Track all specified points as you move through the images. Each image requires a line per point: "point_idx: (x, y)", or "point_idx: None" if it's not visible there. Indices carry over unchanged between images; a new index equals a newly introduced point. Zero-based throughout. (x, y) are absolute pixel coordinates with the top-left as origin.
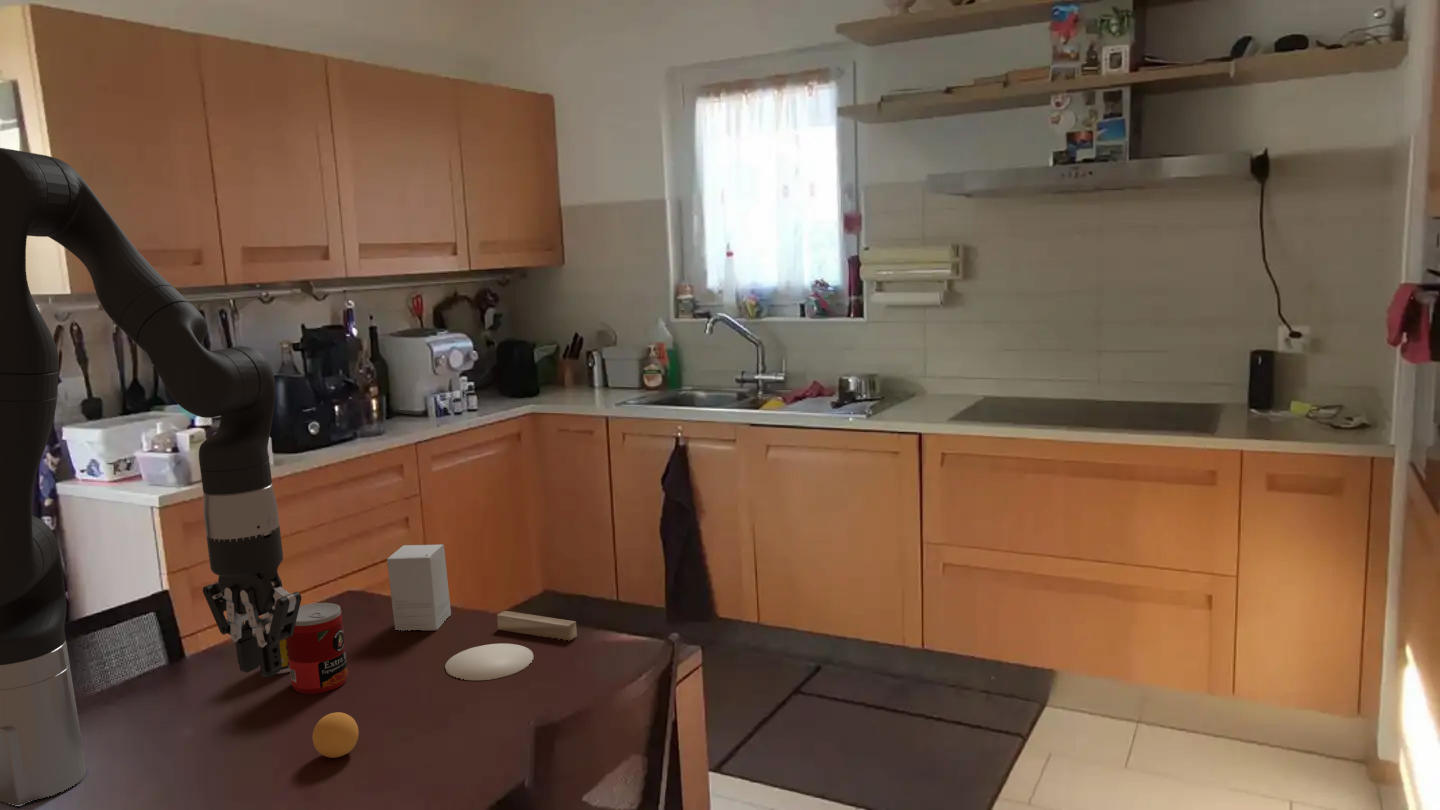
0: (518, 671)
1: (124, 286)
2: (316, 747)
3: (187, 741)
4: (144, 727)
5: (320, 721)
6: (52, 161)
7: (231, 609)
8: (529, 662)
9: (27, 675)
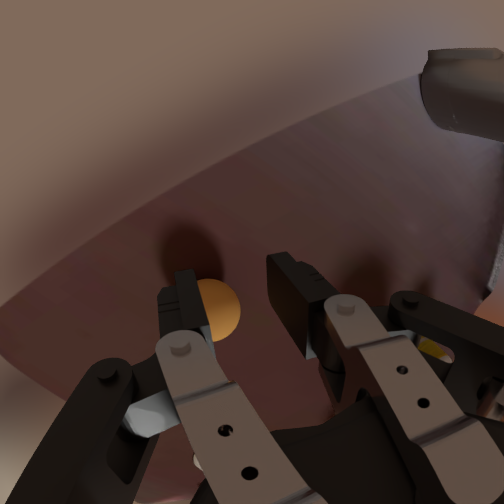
0: (193, 458)
1: None
2: (210, 279)
3: (399, 214)
4: (449, 210)
5: (223, 310)
6: None
7: (408, 396)
8: (198, 467)
9: None
